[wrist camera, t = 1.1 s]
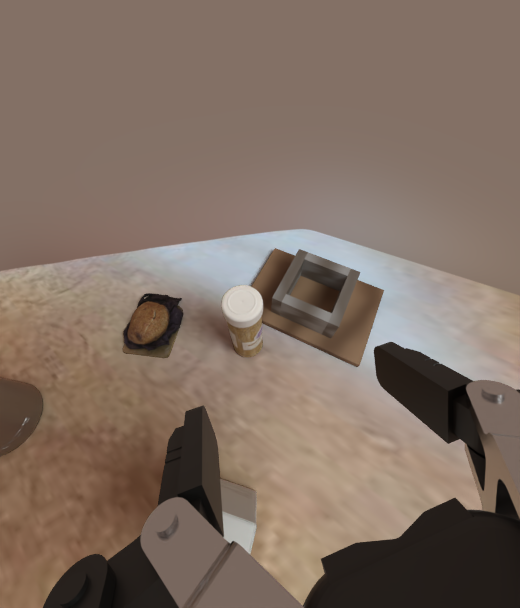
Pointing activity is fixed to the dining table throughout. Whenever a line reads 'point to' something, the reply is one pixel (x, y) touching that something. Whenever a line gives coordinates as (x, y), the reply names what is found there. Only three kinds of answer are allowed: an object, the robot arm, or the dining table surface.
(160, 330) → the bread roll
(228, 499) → the supplement box
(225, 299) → the sprinkles bottle
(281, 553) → the dining table surface
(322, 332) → the collar board
